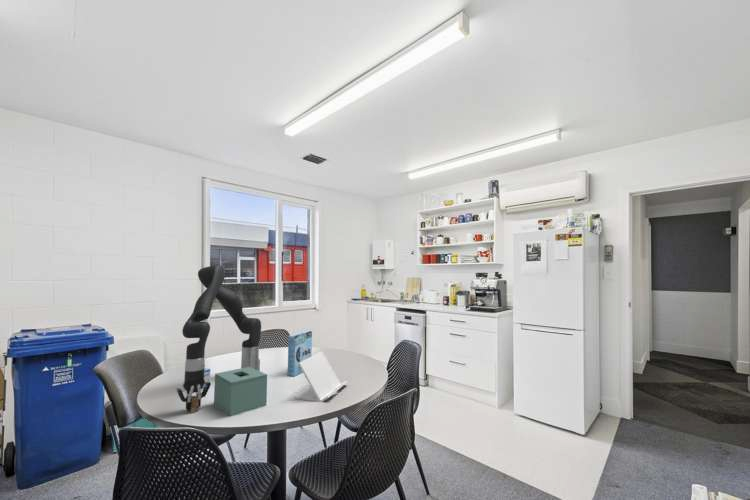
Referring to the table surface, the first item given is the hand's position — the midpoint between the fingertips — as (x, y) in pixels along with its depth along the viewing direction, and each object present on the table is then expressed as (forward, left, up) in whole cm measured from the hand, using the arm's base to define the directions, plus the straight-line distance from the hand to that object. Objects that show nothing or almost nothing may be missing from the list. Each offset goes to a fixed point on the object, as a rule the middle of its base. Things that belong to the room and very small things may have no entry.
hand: (193, 409), depth 143 cm
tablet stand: (-54, +20, -1) cm, 57 cm away
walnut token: (0, 0, -1) cm, 1 cm away
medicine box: (-13, -29, -1) cm, 32 cm away
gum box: (-65, -17, -1) cm, 67 cm away
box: (-17, +8, -1) cm, 19 cm away
